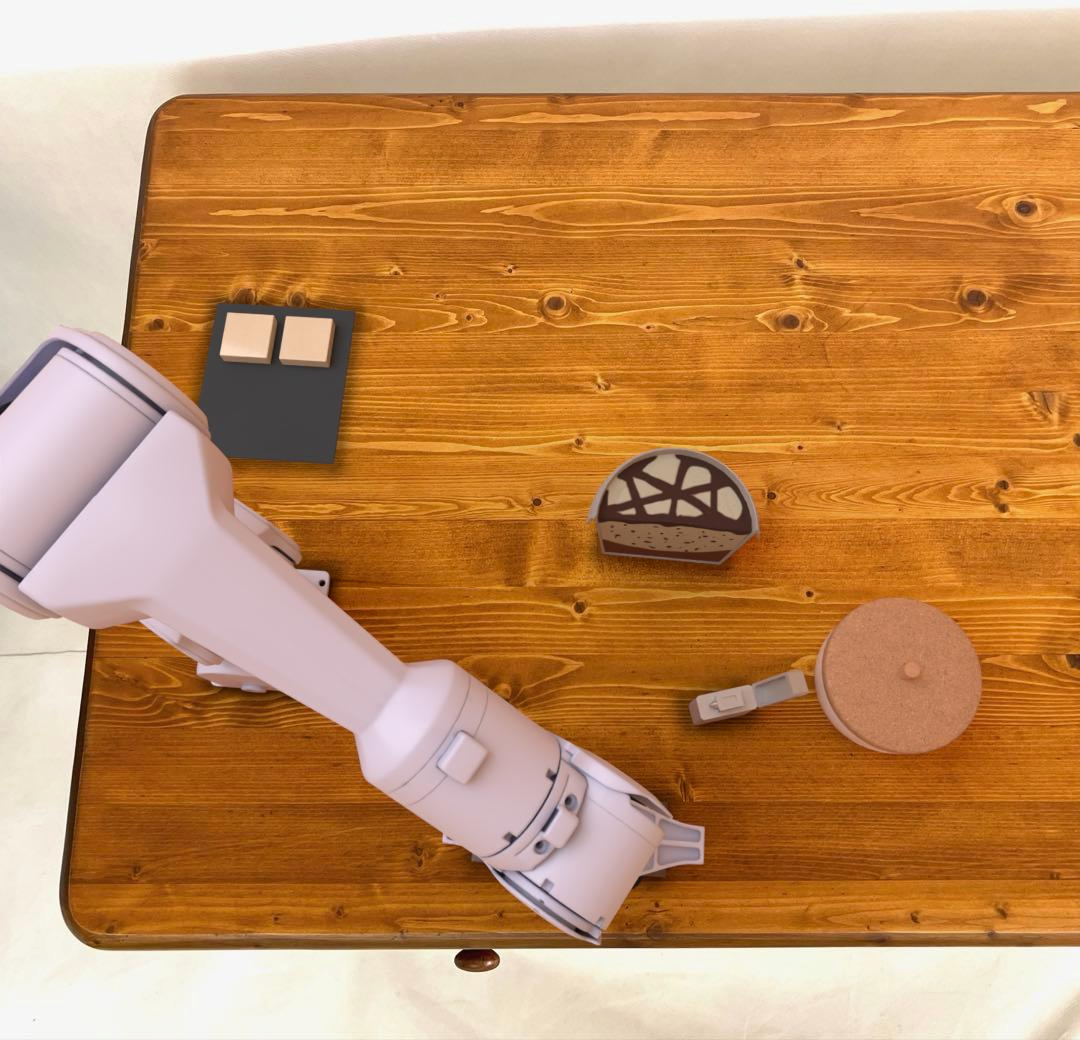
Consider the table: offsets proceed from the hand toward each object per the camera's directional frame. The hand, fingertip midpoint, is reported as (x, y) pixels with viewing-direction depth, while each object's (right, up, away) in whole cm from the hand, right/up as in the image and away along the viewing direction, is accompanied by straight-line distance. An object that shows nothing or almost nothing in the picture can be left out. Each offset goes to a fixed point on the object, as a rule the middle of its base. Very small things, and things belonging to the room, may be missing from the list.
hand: (571, 832), depth 63 cm
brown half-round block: (+8, +20, +15) cm, 26 cm away
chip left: (-27, +35, +20) cm, 48 cm away
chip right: (-22, +35, +20) cm, 46 cm away
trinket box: (+23, +7, +11) cm, 27 cm away
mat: (-24, +32, +19) cm, 44 cm away
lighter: (+13, +6, +11) cm, 18 cm away
